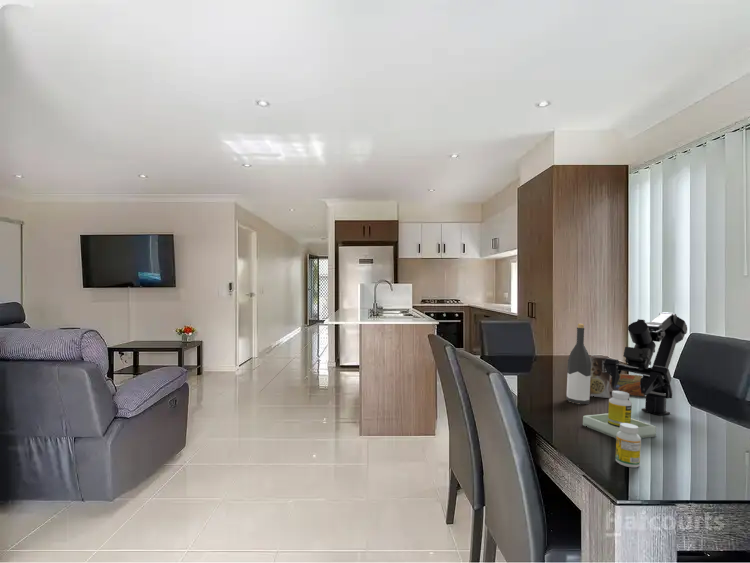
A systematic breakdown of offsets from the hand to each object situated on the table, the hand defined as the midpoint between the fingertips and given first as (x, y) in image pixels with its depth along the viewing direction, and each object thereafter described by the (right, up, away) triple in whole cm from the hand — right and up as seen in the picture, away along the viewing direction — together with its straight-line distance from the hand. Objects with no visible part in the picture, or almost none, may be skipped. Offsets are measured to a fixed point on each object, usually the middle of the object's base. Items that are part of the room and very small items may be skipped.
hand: (628, 391), depth 138 cm
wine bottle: (-3, -11, +28) cm, 30 cm away
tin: (+26, -13, +43) cm, 52 cm away
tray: (-6, -11, -4) cm, 13 cm away
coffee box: (+9, -12, +39) cm, 42 cm away
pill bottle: (-6, -10, -4) cm, 13 cm away
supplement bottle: (-18, -11, -29) cm, 36 cm away
